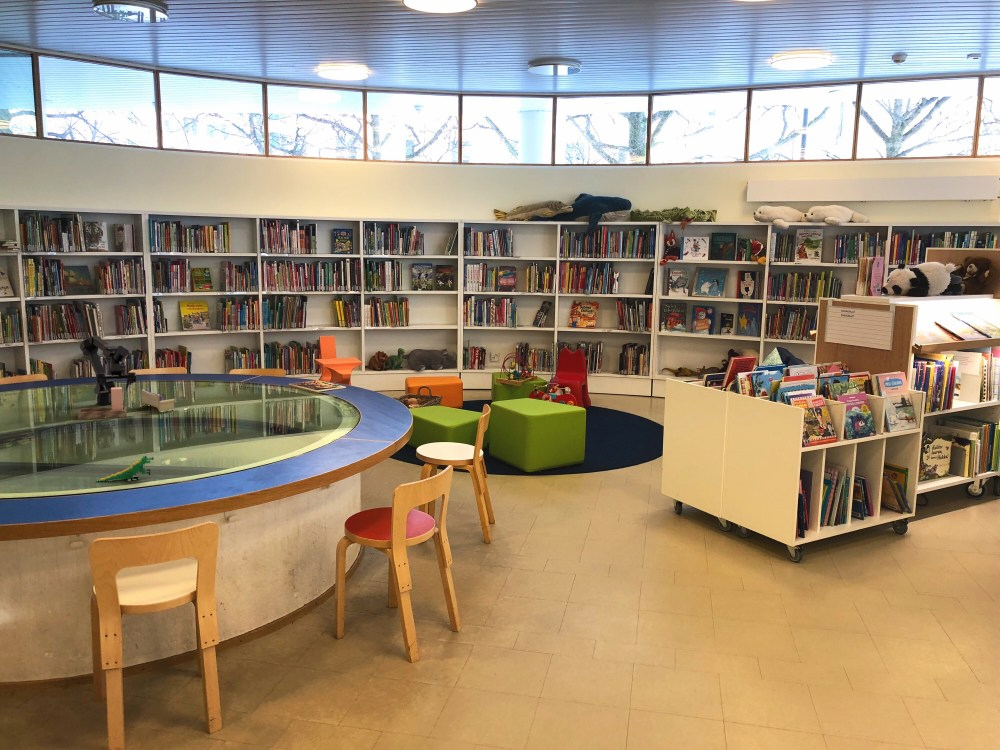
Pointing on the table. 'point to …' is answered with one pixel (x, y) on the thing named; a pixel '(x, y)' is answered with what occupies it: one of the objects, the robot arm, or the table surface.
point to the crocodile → (131, 470)
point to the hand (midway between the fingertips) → (116, 390)
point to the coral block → (116, 398)
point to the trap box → (101, 413)
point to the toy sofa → (156, 401)
